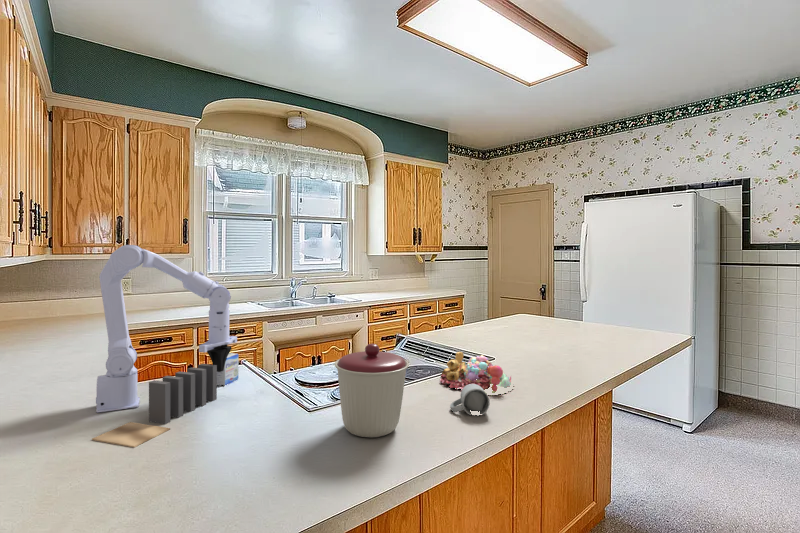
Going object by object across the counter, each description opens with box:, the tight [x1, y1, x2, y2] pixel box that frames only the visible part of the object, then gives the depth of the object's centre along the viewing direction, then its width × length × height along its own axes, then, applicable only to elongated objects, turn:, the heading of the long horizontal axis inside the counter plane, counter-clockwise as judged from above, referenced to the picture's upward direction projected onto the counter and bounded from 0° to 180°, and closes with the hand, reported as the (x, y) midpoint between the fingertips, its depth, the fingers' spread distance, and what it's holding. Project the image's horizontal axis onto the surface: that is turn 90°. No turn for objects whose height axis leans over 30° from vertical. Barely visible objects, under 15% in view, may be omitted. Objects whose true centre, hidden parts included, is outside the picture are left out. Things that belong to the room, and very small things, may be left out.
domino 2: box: [162, 375, 184, 419], centre depth 112 cm, size 2×5×10 cm, turn 74°
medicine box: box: [217, 352, 240, 387], centre depth 141 cm, size 8×4×9 cm, turn 168°
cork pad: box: [91, 421, 171, 448], centre depth 101 cm, size 10×12×1 cm
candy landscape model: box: [439, 351, 512, 393], centre depth 146 cm, size 25×24×9 cm
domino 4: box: [186, 367, 207, 407], centre depth 121 cm, size 2×5×10 cm, turn 74°
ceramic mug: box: [449, 384, 491, 416], centre depth 120 cm, size 10×8×7 cm
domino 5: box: [197, 363, 218, 402], centre depth 125 cm, size 2×5×10 cm, turn 75°
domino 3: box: [174, 371, 196, 413], centre depth 116 cm, size 2×5×10 cm, turn 75°
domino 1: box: [148, 380, 171, 425], centre depth 108 cm, size 2×5×10 cm, turn 75°
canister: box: [334, 343, 410, 438], centre depth 106 cm, size 18×18×21 cm
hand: (218, 371), depth 129 cm, fingers closed
